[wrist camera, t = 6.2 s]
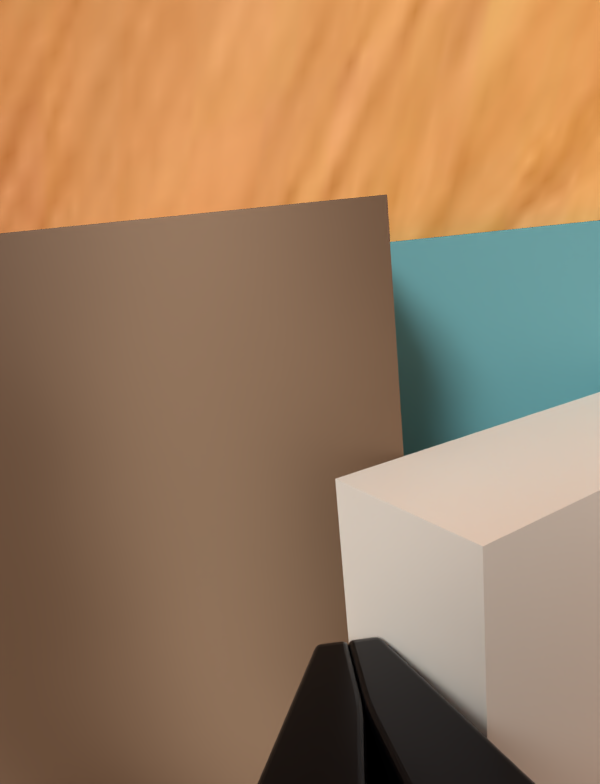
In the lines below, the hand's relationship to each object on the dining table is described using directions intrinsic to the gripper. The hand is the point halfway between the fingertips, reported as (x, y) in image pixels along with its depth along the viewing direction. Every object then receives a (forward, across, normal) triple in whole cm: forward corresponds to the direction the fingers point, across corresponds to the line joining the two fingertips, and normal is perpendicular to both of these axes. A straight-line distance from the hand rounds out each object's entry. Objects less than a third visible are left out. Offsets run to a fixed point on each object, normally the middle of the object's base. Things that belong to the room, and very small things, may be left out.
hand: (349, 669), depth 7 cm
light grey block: (+2, -5, +1) cm, 5 cm away
